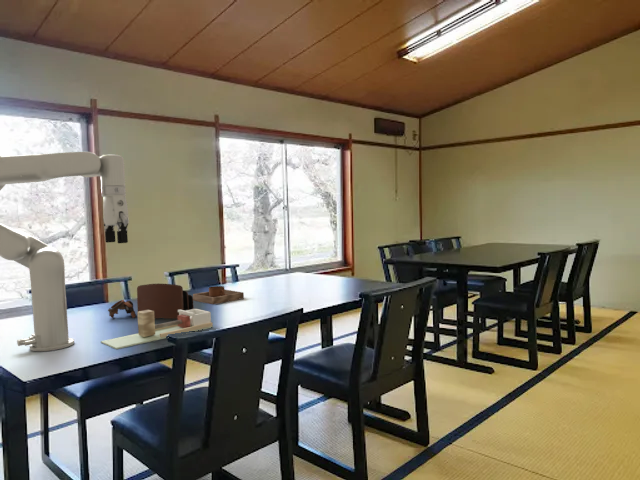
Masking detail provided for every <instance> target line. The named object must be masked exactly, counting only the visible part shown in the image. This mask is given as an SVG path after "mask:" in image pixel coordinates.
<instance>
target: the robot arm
mask: <svg viewBox="0 0 640 480" xmlns="http://www.w3.org/2000/svg"><path fill="white" fill-rule="evenodd" d="M79 176H80V177H83V178H93V177H100V189H101V197H103V200H102V201H103V202H102V209H103V210H102V213H103V216H102V217H103V218H102V220H103V226H104V227H103V228H104V229H103V230H104V235H105V237H104V238H105V243H107V244H108V243H115V242H116V239H117V243H118V244H127V243H128V242H129V240H128V230H129V229H128V226H129V224H130V219H129V216H130V215H129V208H128V202H127V198H126V196H127V193H126V192H127V190H126V173H125V159H124V157H123V156H122V155H120V154H102V155H101V156H98V155H97V154H96V153H94V152H91V151H67V152H54V153H39V154H23V155H22V154H21V155H19V154H18V155H1V156H0V191H1V190H2V189H3V188H4V187H5V186H6V185H12V184H26V183H29V184H30V183H41V182H46V181H49V180H53V179H58V178H67V177H79ZM115 226H116V229H117V230H114V229H115ZM116 235H117V236H116ZM116 237H117V238H116ZM0 257H1V258H2V259H5V260H7V261H13V262H16V263H18V264H20V265H21V266H24V267H25V268H27V269H28V270H29V277H30V278H29V279H30V291H31V293H30V294H31V304H32V316H33V317H32V319H33V333H31V336H28V338H21V339H17V341H16V344H17V346H18V347H22V346H25V347H26V346H29V350H30V351H31V352H50V351H55V350H56V351H57V350H61V349H65V348H69V347H71V346H73V345H74V344H75V339H74V338H72V337H70V336H69V322H68V305H67V292H66V290H67V289H66V278H65V277H66V273H65V270H66V269H65V267H66V266H65V260H64V257H63V255H62V253H61V252H60V251H59V250H58V249H56V248H55V247H53V246H50V245H49V244H47V243H45V242H43V241H41V240H39V239H38V238H36V237H35V236H32V235H30V234H28V233H27V232H24V231H22V230H19V229H13V228H11V227H9V226H7V225H6V224H3V223H1V222H0Z"/></svg>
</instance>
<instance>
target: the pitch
mask: <svg viewBox="0 0 640 480" xmlns="http://www.w3.org/2000/svg"><path fill="white" fill-rule="evenodd" d="M178 312H179V315H182V314H183V315H187V316H190V317H191V316H192V325H193V326H190V327H188V328H182V327H179V326H178V324H177V325H172V326H167V327H162V328H158V329H155V335H151V336H146V337H143V336H140V335H139V333H134V334H133V333H132V334H128V335H125V336H119V337H116V338H115V337H114V338H108V339H106V340H101V341H100V343H101V344H103V345H106V346H108V347H110V348H112V349H114V350H120V349H124V348H128V347H133V346H137V345H142V344H146V343H150V342H156V341H158V340H163V339H167V338H166V336H167V335H168V334H175V333H181V332H189V331H195V332H199V331H203V330H207V329H212V328H213V327H214V326H213V322H212V314H211V311H207V310H203V309H199V308H194V309H191V310H186V311H184V310H178ZM211 327H212V328H211ZM202 329H203V330H202ZM198 330H199V331H198Z"/></svg>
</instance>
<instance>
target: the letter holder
mask: <svg viewBox="0 0 640 480" xmlns="http://www.w3.org/2000/svg"><path fill="white" fill-rule="evenodd" d="M136 295H137V296H136V298H137V302H136V303H137V305H136V306H137V312H139V311H144V310H152V311H154V318H155V319H159V318H164V320H165V319H167V320H169V319H170V320H171V319H172V320H173V319H175V320H178V315H179V312H178V310H184V311H186V310H191V309H195V308H194V300H193V295H192V294H189V293H188V292H187V290H184V288H183V286H182V285H179V284H173V283H148V284H141V285H138V286H137V288H136Z"/></svg>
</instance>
